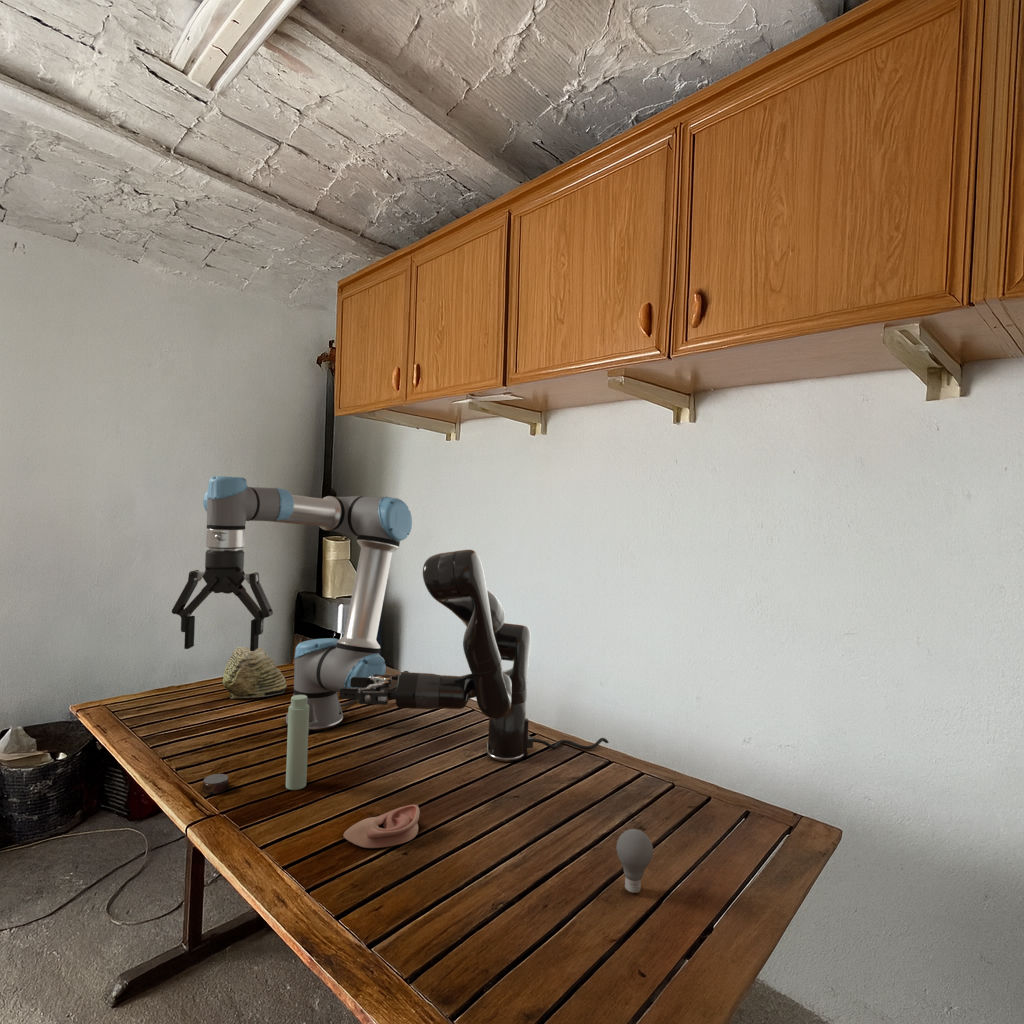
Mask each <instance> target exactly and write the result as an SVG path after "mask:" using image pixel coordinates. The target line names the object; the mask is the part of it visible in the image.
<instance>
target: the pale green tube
mask: <svg viewBox="0 0 1024 1024" xmlns="http://www.w3.org/2000/svg"><path fill="white" fill-rule="evenodd" d="M307 700H308V698H307V696H306V695H295V696H294V695H292V696H291V697H290V704H291V705H290V704H289V706H288V709H287V710H288V711H287V713H288V727H287V735H286V737H287V738H286V765H285V770H286V771H285V788H286V789H287V790H289V791H290V790H291V791H297V790H301V789H304V788H305V787H306V786H307V778H308V753H309V752H308V750H309V732H308V730H309V705H308V704H307Z"/></svg>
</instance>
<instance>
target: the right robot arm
mask: <svg viewBox="0 0 1024 1024" xmlns="http://www.w3.org/2000/svg"><path fill="white" fill-rule="evenodd" d="M422 579H423V582H424V583H423V584H424V586H425V588H426V590H427V592H428V594H429V595H430V596H431V597H432V598H433V599H434V600H435V601H436V602H438V603H439V604H441V605H442V606H444V607H445V608H447V609H448V610H450V611H451V612H452V613H453V614H454V615H455V616H456V617H457V618H458V619H459V620H460V621H461V623H463V625H464V626H465V627H466V628H465V631H464V635H463V640H462V647H463V652H464V653H463V654H464V656H465V659H466V662H467V665H468V668H469V670H470V673H467V674H463V675H447V674H436V673H432V672H431V673H430V672H411V671H408V672H404V671H401V672H400V673H398V674H399V676H397V675H398V674H385V675H381V674H374V675H373V676H369V677H352V678H351V683H350V686H351V687H358V688H341V689H340V693H339V698H340V699H341V700H354V699H356V700H357V699H358V701H357V702H358V704H359V705H376V706H377V705H379V706H381V705H382V706H386V705H388V701H389V700H395V705H396V707H397V708H398V709H414V710H437V709H445V710H462V709H464V708H466V706H467V704H468V702H469V700H470V699H473V698H475V699H476V703H477V706H478V708H479V710H480V712H481V713H482V714H483V715H484V716H485V717H487V718H488V735H487V740H486V747H487V750H486V755H487V756H488V757H489V758H490V759H491V760H494V761H497V762H502V763H503V762H504V763H513V762H517V761H520V760H522V759H523V758H527V757H528V749H533V748H534V743H538V744H541V745H545V746H546V747H548V748H549V749H553V750H555V749H557V748H558V747H559V746H560V745H561V744H566V745H567V744H568V745H571V746H573V747H575V748H577V749H581V750H585V751H586V750H587V751H588V750H589V751H590V750H593V749H596V748H597V747H598V746H599V745H600V744H601V743H602V742H604V743H605V744H609V740H607V738H605V737H600V738H598V740H596V742H595V743H593V744H591V745H582V744H579V743H578V742H575V741H572V740H568V739H560V740H558V741H556V742H555V744H551V743H550V742H548V741H546V740H544V739H540V738H539V739H538V738H534V737H532V736H530V735H529V723H530V720H529V718H528V717H527V698H528V697H527V696H528V695H527V694H528V693H527V692H528V679H529V668H530V667H529V664H530V655H531V647H532V646H531V645H532V633H531V629H530V628H529V626H527V625H525V624H518V623H510V622H505V621H506V613H505V609H504V606H503V605H502V603H501V601H499V599H498V598H497V597H496V595H495V594H494V593H493V592H492V591H490V590H489V589H488V587H487V582H486V576H485V571H484V567H483V563H482V560H481V558H480V556H479V554H478V553H477V552H476V550H474V549H459V550H455V551H454V550H453V551H447V552H440V553H436V554H433V555H431V556H429V557H428V558H427V559H426V560H425V562H424V564H423V566H422ZM503 661H506V662H507V661H508V662H513V664H512V667H511V668H509V669H505V670H504V669H503V667H504V666H503ZM365 695H367V696H366V697H365Z"/></svg>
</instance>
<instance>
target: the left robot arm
mask: <svg viewBox="0 0 1024 1024" xmlns="http://www.w3.org/2000/svg"><path fill="white" fill-rule="evenodd" d="M202 502H203V508H204V510H205V511H206V533H205V535H206V536H205V537H206V538H205V547H206V548H208V549H207V550H206V551H205V556H204V568H205V570H204V571H200V570H199V569H194V570H190V571H189V573H188V577H187V582H186V584H185V585H184V587H183V589H182V591H181V592H180V594H179V596H178V598H177V600H176V602H175V604H174V605H173V607H172V609H171V613H172V614H173V615H177V616H179V617H180V632H181V633H184V650H189V649H191V648H193V647H194V646H195V627H196V626H195V625H196V615H192V614H193V613H194V612H195V611H196V610H197V609H198V607H199V606H200V605H201V604H202V603H203V602H204V601H205V600H206V599H207V597H209V595H211V594H212V593H214V594H221V593H222V594H228V595H229V594H232V593H233V595H234V596H236V597H237V598H238V599H239V600H240V602H241V603H242V604H243V605H244V607H245V608H246V610H247V611H248V612H249V613H250V614H251V615H252V617H253V619H251V620H250V638H249V639H250V641H249V648H250V651H255V650H256V649H258V648H259V638H260V637H259V636H260V635H262V634H263V632H264V626H265V625H264V624H265V623H264V621H265V619H267V618H269V617H271V616H273V614H274V610H273V608H272V606H271V604H270V602H269V599H268V598H267V596H266V593H265V591H264V589H263V586H262V584H261V583H260V574H259V572H257V571H255V572H252V573H245V570H244V567H245V551H244V550H243V548H245V546H246V545H245V544H246V522H251V521H253V522H269V523H270V522H271V523H281V524H282V523H283V524H293V525H304V526H316V527H319V528H320V529H321V530H324V531H328V532H329V531H331V532H336V533H340V534H344V535H348V536H353V537H356V542H357V544H358V545H359V548H360V552H359V557H358V563H357V567H356V573H355V579H354V583H353V588H352V594H351V598H350V603H349V609H348V612H347V614H348V615H347V619H346V624H345V630H344V635H342V636H341V637H340V638H339V639H338V638H335V637H333V638H332V637H329V638H328V637H327V638H313V639H308V640H304V641H302V642H299V643H298V644H297V645H296V647H295V652H294V653H295V654H294V657H293V659H294V660H293V662H294V663H293V665H294V667H293V696H295V695H306V696H307V698H308V700H307V704H308V705H309V730H308V733H316V732H325V731H329V730H332V729H335V728H337V727H339V726H340V725H342V723H343V722H344V714H343V709H342V708H343V707H346V706H350V705H351V704H354V703H356V702H359V701H358V699H357V700H356V699H351V700H350V701H347V702H345V703H342V704H341V702H340V699H339V695H338V694H340V689H341V688H358V687H351V686H350V683H351V678H352V677H369V676H373V675H374V674H381V675H386V671H387V668H386V667H387V665H386V663H385V659H384V657H382V656H381V654H380V652H381V645H380V644H379V642H378V640H377V638H378V632H379V627H380V621H381V616H382V612H383V605H384V600H385V595H386V589H387V585H388V584H387V583H388V578H389V574H390V573H389V572H390V567H391V562H392V556H393V553H394V552H396V551H398V550H399V549H400V543H401V541H404V540H406V539H407V538H408V536H409V535H410V534H411V531H412V527H413V517H412V513H411V510H410V509H409V506H408V505H407V503H406V502H405V501H404V500H402V499H400V498H397V497H392V496H365V495H351V496H332V495H327V496H324V497H322V498H320V497H312V496H305V495H297V494H292V493H291V492H290V491H289V490H288V489H285V488H281V487H260V486H248V481H247V479H246V478H245V477H243V476H242V477H241V476H225V475H223V476H222V475H214V476H212V477H210V478H209V479H208V485H207V491H206V492H205V493H204V495H203V500H202ZM202 579H203V580H204V582H205V584H206V585H204V587H203V588H201V590H200V591H199V592H198V594H197V595H196V596H195V597H194V598H193V599H192V601H190V602H189V600H190V598H191V596H192V594H193V593H194V591H195V589H196V587H197V586H198V584H199V582H200V581H202ZM244 581H246V583H247V584H249V587H250V589H251V591H252V593H253V595H254V598H255V600H256V602H257V603H256V602H255V600H254V599H253V597H252V596H251V595H250V594H249V593H248V592H247V589H246V587H244V585H243V582H244ZM188 602H189V603H188ZM187 604H188V605H187ZM186 605H187V606H186ZM403 672H409V670H404V671H403ZM399 674H400V673H398V674H396V675H397V676H399ZM366 696H367V695H365V697H366ZM290 705H291V703H290V704H289V706H290ZM285 726H286V728H288V712H287V713H286V715H285Z"/></svg>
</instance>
